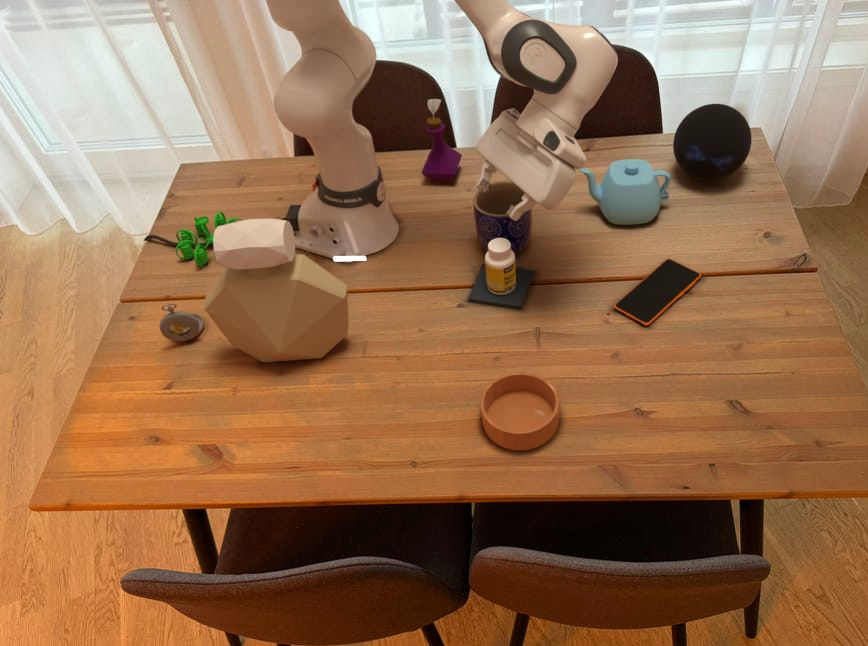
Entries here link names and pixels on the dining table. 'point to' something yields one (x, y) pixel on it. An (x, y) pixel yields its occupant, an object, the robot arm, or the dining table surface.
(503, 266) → the supplement bottle
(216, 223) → the chandelier
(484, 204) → the planter
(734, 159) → the decorative sphere
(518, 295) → the mat
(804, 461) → the dining table surface
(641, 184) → the teapot
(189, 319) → the pocket watch
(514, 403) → the round wooden tray
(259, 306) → the faceted beige jar
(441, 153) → the perfume bottle
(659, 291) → the smartphone
